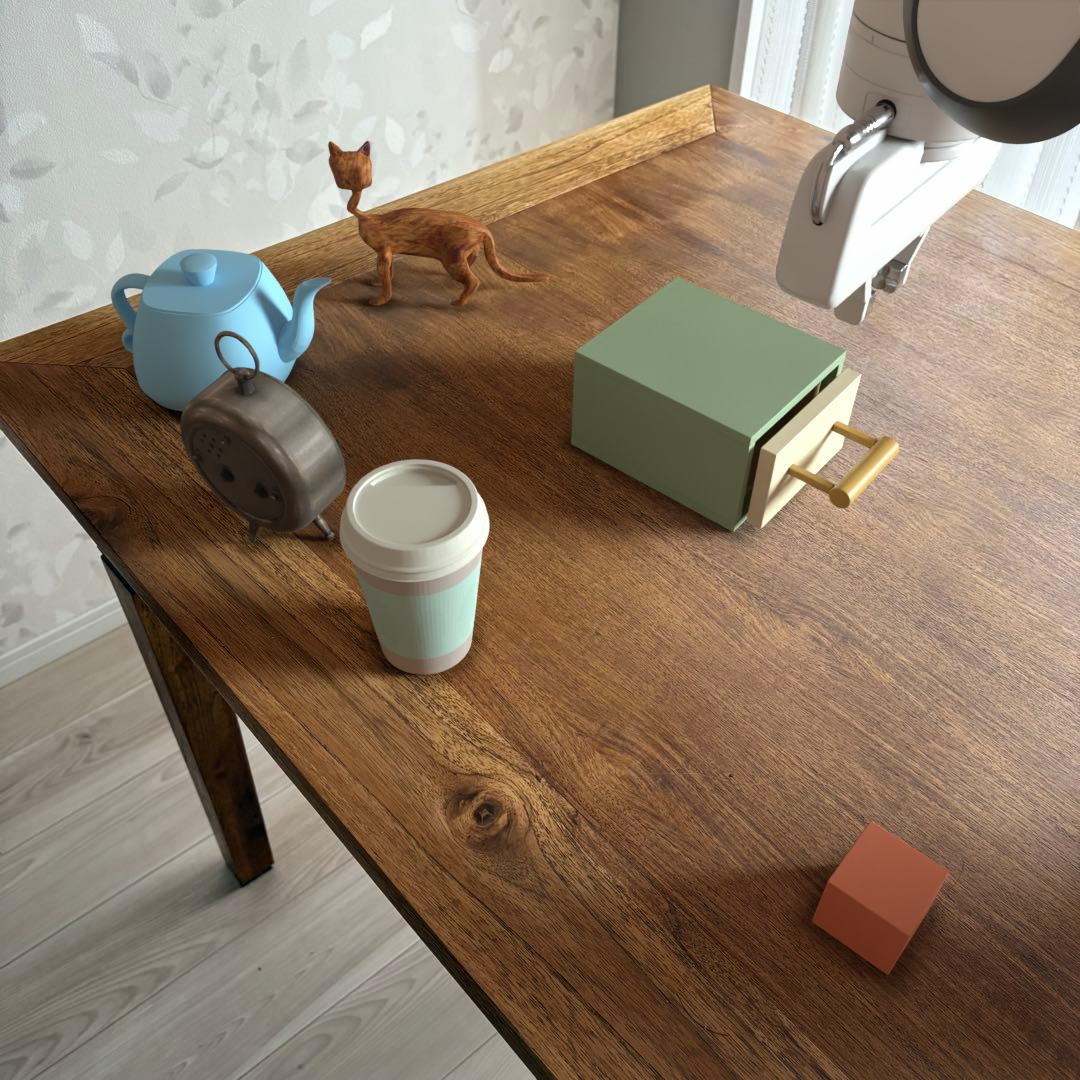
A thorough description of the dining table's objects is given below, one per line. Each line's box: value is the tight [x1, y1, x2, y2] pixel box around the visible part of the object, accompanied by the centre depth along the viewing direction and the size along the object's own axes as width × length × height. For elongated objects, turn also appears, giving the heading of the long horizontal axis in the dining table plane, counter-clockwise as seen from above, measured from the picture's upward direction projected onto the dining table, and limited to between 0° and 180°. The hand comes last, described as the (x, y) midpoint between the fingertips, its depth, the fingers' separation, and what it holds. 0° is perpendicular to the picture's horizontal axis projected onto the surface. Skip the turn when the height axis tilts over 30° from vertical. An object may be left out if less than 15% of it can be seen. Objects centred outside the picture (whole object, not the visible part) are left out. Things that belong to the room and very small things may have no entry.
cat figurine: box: [327, 140, 551, 307], centre depth 94 cm, size 18×7×14 cm, turn 93°
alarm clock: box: [180, 331, 347, 544], centre depth 72 cm, size 11×5×16 cm, turn 58°
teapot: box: [110, 248, 332, 412], centre depth 86 cm, size 13×11×18 cm
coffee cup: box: [339, 458, 491, 676], centre depth 66 cm, size 8×8×12 cm
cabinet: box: [570, 276, 848, 533], centre depth 81 cm, size 15×13×9 cm
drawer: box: [745, 367, 900, 530], centre depth 79 cm, size 18×11×7 cm, turn 50°
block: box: [811, 820, 950, 976], centre depth 56 cm, size 4×4×4 cm
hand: (869, 301), depth 68 cm, fingers open, 3 cm apart
